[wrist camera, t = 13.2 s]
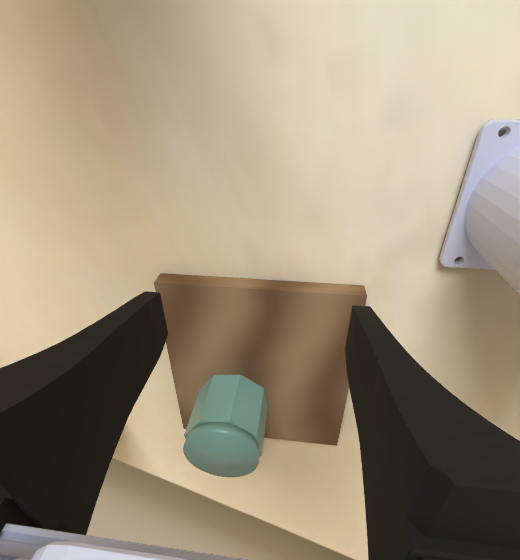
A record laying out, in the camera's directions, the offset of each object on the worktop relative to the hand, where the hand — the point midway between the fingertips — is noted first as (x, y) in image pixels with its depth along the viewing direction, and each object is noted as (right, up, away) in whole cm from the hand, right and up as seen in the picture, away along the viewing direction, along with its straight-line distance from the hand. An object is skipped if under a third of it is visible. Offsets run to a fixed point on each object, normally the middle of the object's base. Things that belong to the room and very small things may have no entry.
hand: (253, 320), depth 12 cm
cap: (-2, -8, +15) cm, 17 cm away
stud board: (0, -5, +14) cm, 15 cm away
